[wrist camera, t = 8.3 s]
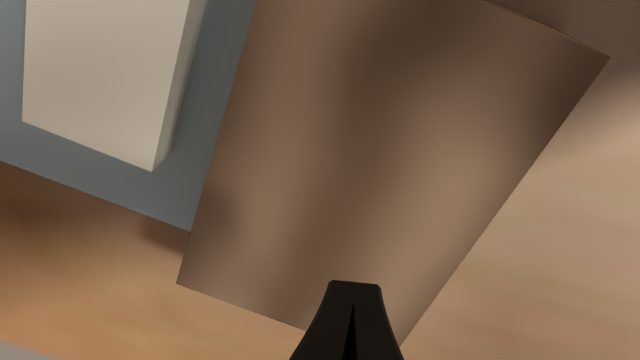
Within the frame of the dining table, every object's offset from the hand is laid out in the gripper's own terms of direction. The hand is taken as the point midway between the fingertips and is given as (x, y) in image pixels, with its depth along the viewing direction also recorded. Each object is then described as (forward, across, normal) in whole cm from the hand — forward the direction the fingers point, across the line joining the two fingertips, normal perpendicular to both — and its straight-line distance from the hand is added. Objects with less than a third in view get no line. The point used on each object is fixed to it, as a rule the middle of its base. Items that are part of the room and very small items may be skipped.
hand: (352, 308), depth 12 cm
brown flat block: (+10, 0, 0) cm, 10 cm away
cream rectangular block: (+8, +11, -5) cm, 14 cm away
